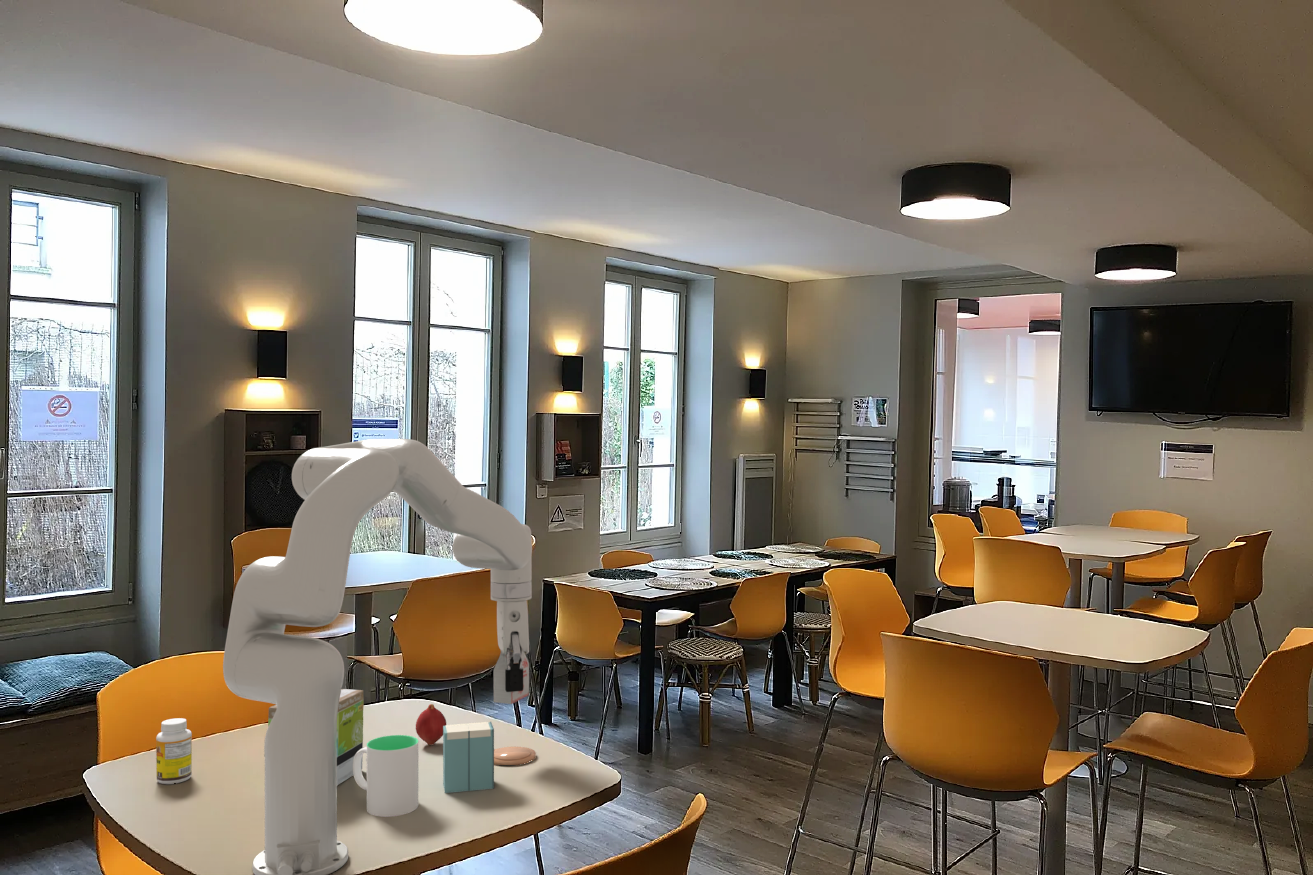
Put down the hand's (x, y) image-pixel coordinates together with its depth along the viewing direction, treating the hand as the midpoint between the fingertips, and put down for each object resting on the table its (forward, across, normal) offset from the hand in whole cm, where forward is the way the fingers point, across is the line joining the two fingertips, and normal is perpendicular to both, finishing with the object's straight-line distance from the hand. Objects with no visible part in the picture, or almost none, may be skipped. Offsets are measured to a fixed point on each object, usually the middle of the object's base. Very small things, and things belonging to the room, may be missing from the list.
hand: (511, 684), depth 184 cm
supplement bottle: (+14, +4, +58) cm, 60 cm away
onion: (+14, +12, +14) cm, 23 cm away
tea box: (+14, -4, +34) cm, 37 cm away
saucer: (+14, 0, 0) cm, 14 cm away
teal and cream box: (+14, -13, +9) cm, 21 cm away
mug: (+14, -18, +23) cm, 32 cm away
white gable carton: (+3, 0, 0) cm, 3 cm away
